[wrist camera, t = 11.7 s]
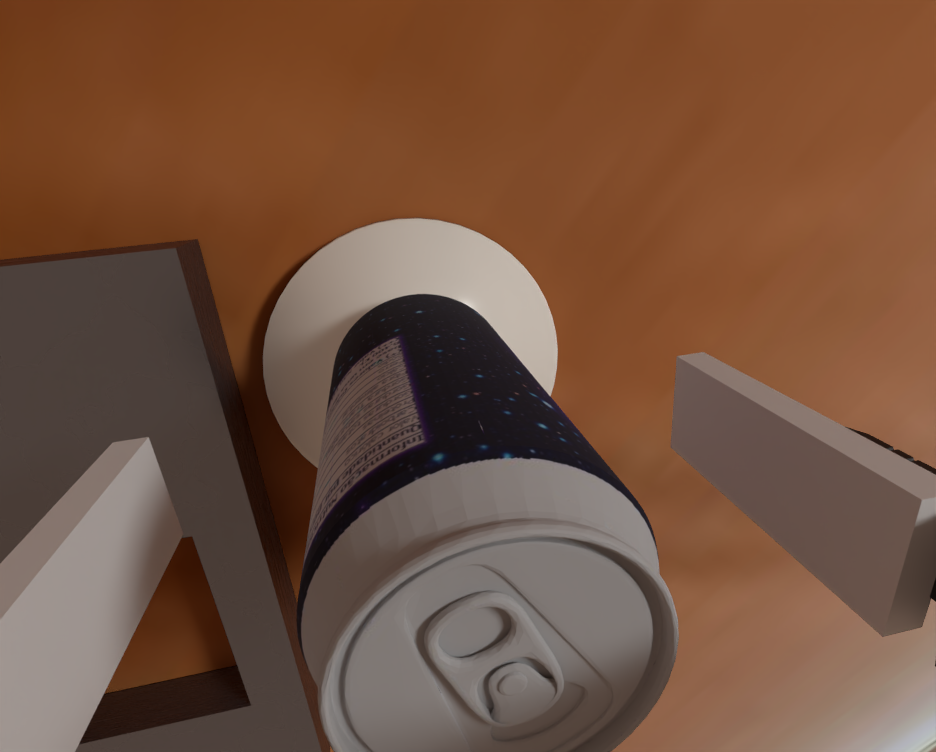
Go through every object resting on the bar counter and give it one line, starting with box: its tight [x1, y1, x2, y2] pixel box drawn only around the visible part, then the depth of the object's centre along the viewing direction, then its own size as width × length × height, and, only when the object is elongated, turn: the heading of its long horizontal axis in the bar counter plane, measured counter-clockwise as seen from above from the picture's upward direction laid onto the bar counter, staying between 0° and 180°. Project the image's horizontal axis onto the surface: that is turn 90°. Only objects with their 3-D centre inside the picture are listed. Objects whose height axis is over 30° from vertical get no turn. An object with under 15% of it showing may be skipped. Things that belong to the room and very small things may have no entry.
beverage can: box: [297, 294, 679, 752], centre depth 12 cm, size 6×6×12 cm
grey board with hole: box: [0, 239, 330, 752], centre depth 18 cm, size 22×12×2 cm, turn 5°
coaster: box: [263, 218, 558, 468], centre depth 18 cm, size 10×10×1 cm
